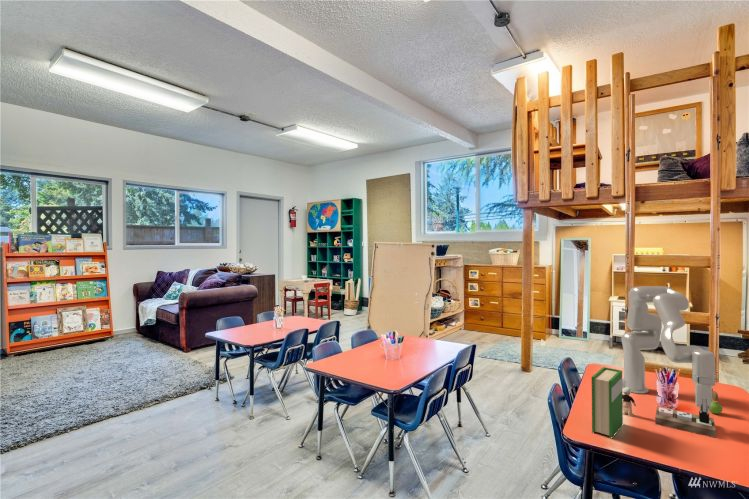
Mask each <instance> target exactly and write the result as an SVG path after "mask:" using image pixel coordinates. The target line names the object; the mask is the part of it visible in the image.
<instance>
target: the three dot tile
mask: <svg viewBox="0 0 749 499" xmlns="http://www.w3.org/2000/svg"><path fill="white" fill-rule="evenodd" d="M676 411H677V419H681V420H686V421H691V422H692V414H693V413H690V412H686V413H685V412H684V411H681V412H680V410H676ZM689 413H690V414H689Z"/></svg>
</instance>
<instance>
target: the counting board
mask: <svg viewBox="0 0 749 499" xmlns="http://www.w3.org/2000/svg"><path fill="white" fill-rule="evenodd" d="M659 407H660V408H662V407H661V406H657V407H656V410H655V415H654V416H655V418H654V419H655V423H654V424H655V425H659V426H662V427H666V428H667V427H668V428H670V429H675V430H680V431H684V432H688V433H693V434H696V435H701V436H706V437H709V438H716V437H717V431H716V430H717V429H716V424H715V418H713V417H710V416H709V421H711V424H712V426H709V425H704V424H700V423H696V419H699V414H696V413H690V412H688V413H689V414H692V422H691V421H686V420H681V419H677V411H678V410H675V409H671V408H669V409H670V410H673V418H672V417H667V416H663V415H659ZM664 408H665V409H667V408H666V407H664ZM679 411H680V410H679ZM680 412H682V411H680ZM685 413H687V412H685Z"/></svg>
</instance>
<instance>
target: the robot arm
mask: <svg viewBox="0 0 749 499" xmlns="http://www.w3.org/2000/svg"><path fill="white" fill-rule="evenodd" d="M627 297H628V310H627V320H626V325H627V328H628V329H629V330H631V331H627V332H624V333H623V334H622V336H621V344H622V350H623V378H622V390H623V389H624V388H625V387H628V388H630V390H631V391H630V393H632V394H633V393H634V394H643V395H644V394H647V393H649V388H648V387H647V386H646V367H645V366H646V362H645V361H646V359H645V357H644V354H643V353H642V352H641V351H642V350H643V351H644V350H646V351H647V350H656V349H657V348H658V347H659V346H660V344H661V347H662V349H663V351H664V354H665V356H666V357H667V358H668V360H670V361H671V362H673V363H675V364H691V365H692V366H691V374H692V375H691V378H692V379H691V380H692V382H693V383H694V400H695V402H694V403H695V407H696V408H698V407H699V410H698V415H699V421H700V422H703V423H709V417H710V413H709V410H708V409H711V401H712V389H713V387H714V386H716V355H715V353H714V352H712V351H710V350H705V349H704V348H701V347H700V346H697V345H677V344H676V342H675V341H674V338H673V333H674V332H675V331H676V330H679V329H681V328H683V327H685V325H686V320H685V318H684V317H683V315H682V313H681V312H682V311H683V312H684V311H686V310H688V309H689V307H690V303H689V302H690V301H689V300H688V298H687V296H685V294H683V293H682V292H679V291H678V290H676V289H675V290H674V289H672V288H671V287H667V286H663V285H662V286H660V285H659V286H658V285H657V286H655V285H654V286H651V285H650V286H649V285H647V286H645V285H643V286H634V287H632V288H631V289H629V291H628V295H627ZM649 303H650V304H653V306H654V309H655V310H656V312H657V314H656V313H653V312H652V313H651V312H649V306H648V304H649ZM662 328H663V329H662Z"/></svg>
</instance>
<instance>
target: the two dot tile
mask: <svg viewBox="0 0 749 499" xmlns="http://www.w3.org/2000/svg"><path fill="white" fill-rule="evenodd" d="M658 407H659V415H663V416H667V417H672V418H673V410H674V409H671V408H666V407H661V406H658ZM660 407H661V408H660ZM665 408H666V409H665ZM670 409H671V410H670Z"/></svg>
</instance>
